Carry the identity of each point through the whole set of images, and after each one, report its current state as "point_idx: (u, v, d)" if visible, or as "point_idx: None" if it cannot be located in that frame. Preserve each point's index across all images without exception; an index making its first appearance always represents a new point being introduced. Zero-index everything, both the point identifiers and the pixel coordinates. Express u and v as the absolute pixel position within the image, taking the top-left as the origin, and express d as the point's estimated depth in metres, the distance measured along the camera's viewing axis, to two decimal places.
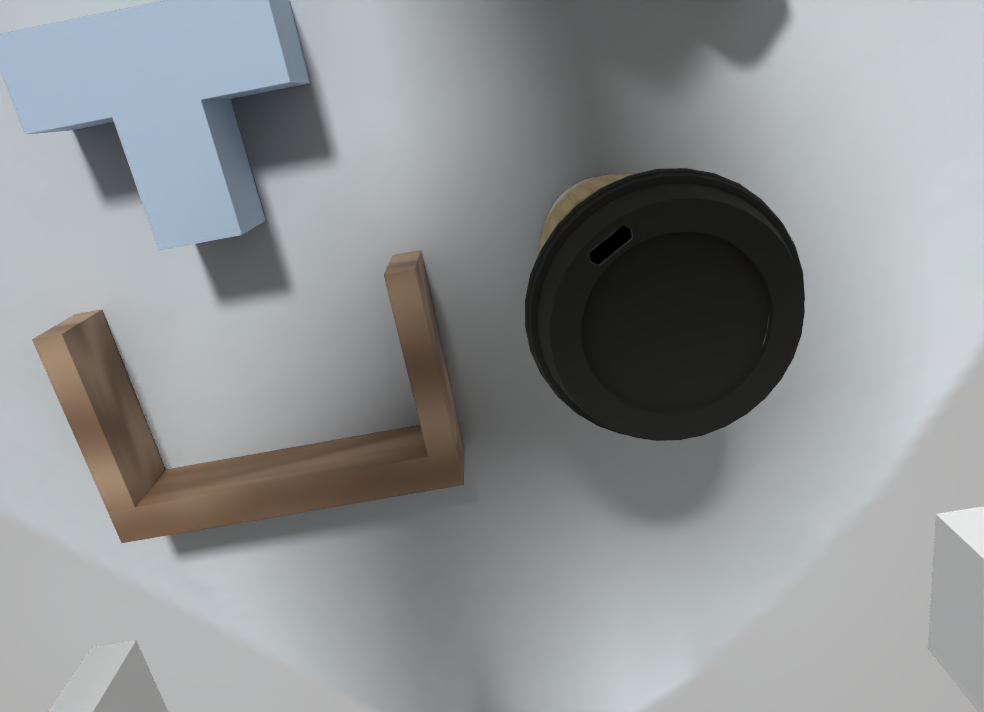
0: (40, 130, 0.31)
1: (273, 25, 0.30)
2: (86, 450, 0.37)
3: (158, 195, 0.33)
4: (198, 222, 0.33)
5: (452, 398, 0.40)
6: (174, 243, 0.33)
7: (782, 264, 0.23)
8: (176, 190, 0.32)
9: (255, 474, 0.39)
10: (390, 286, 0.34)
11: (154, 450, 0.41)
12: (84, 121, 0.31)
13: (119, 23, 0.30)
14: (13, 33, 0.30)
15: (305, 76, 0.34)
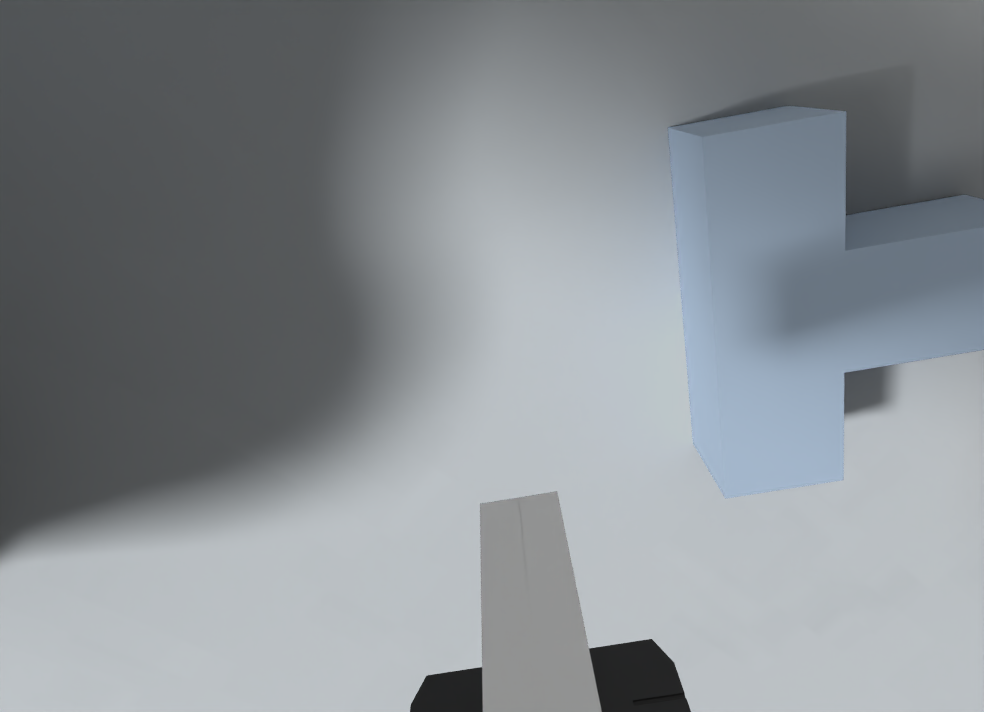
0: (842, 461, 0.24)
1: (764, 128, 0.20)
2: None
3: (960, 329, 0.22)
4: None
5: None
6: None
7: None
8: (960, 302, 0.22)
9: None
10: None
11: None
12: (842, 407, 0.23)
13: (732, 343, 0.22)
14: (726, 469, 0.24)
15: (787, 108, 0.23)
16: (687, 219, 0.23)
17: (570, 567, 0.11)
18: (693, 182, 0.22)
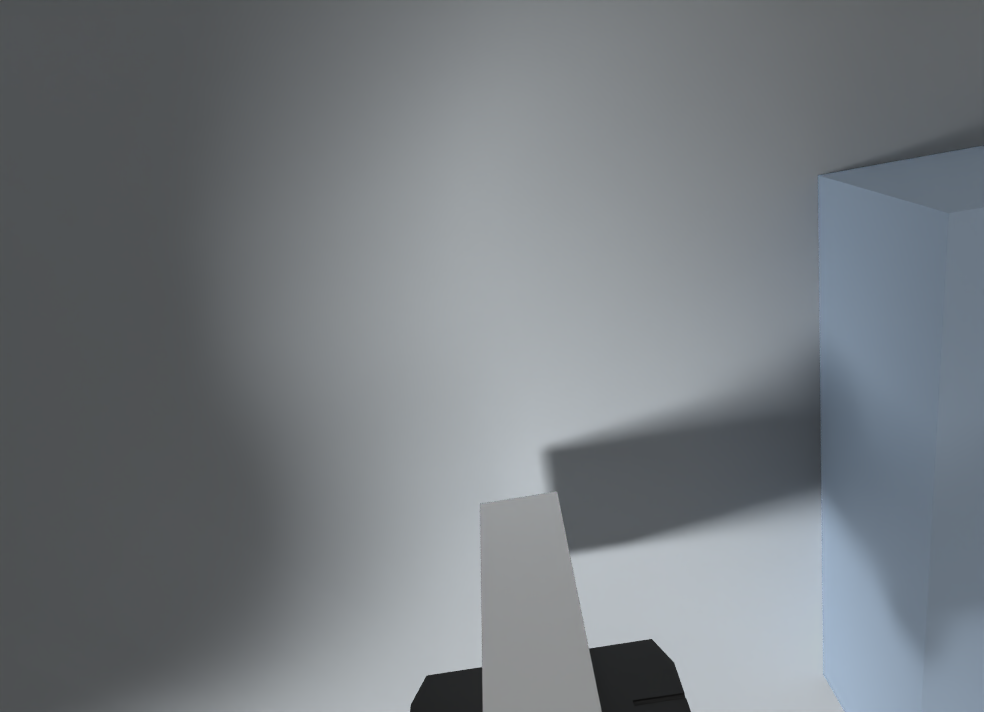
0: None
1: None
2: None
3: None
4: None
5: None
6: None
7: None
8: None
9: None
10: None
11: None
12: None
13: (960, 595, 0.12)
14: None
15: None
16: (861, 347, 0.13)
17: (570, 567, 0.11)
18: (894, 291, 0.11)
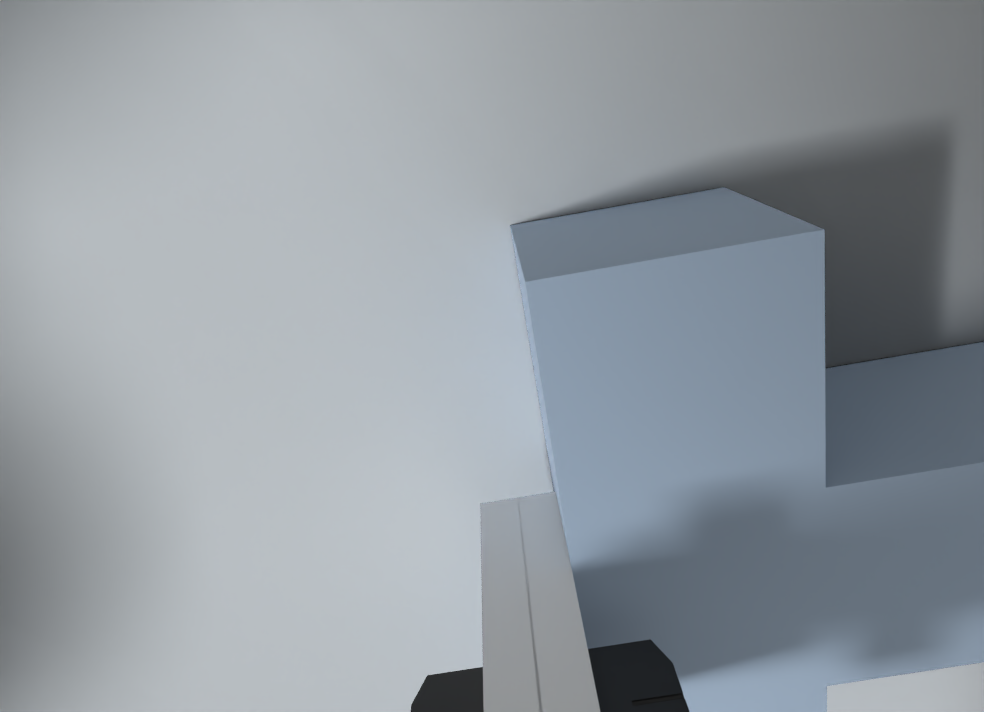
0: None
1: (653, 265, 0.10)
2: None
3: None
4: None
5: None
6: None
7: None
8: None
9: None
10: None
11: None
12: None
13: (615, 644, 0.12)
14: None
15: (720, 195, 0.13)
16: (540, 397, 0.13)
17: (569, 567, 0.11)
18: (533, 348, 0.11)
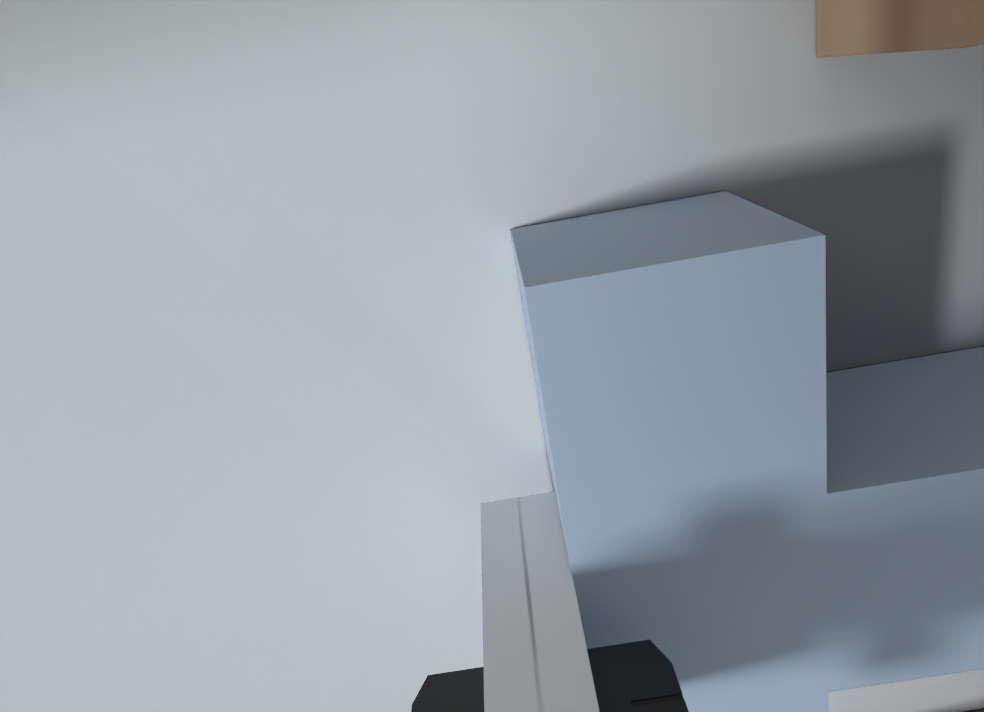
0: None
1: (653, 270, 0.10)
2: None
3: None
4: None
5: None
6: None
7: None
8: None
9: None
10: None
11: None
12: None
13: None
14: None
15: (720, 199, 0.13)
16: (540, 402, 0.13)
17: (568, 567, 0.11)
18: (533, 353, 0.11)
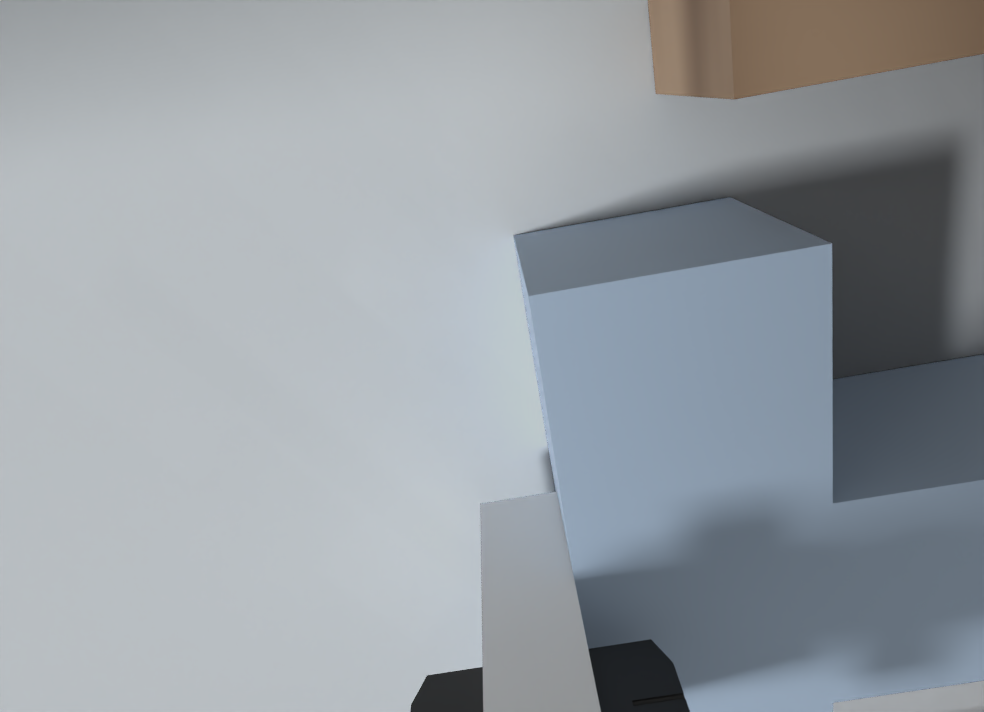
0: None
1: (657, 280, 0.09)
2: None
3: None
4: None
5: None
6: None
7: None
8: None
9: None
10: (785, 74, 0.09)
11: None
12: None
13: None
14: None
15: (725, 206, 0.12)
16: (543, 409, 0.13)
17: (569, 567, 0.11)
18: (536, 361, 0.11)
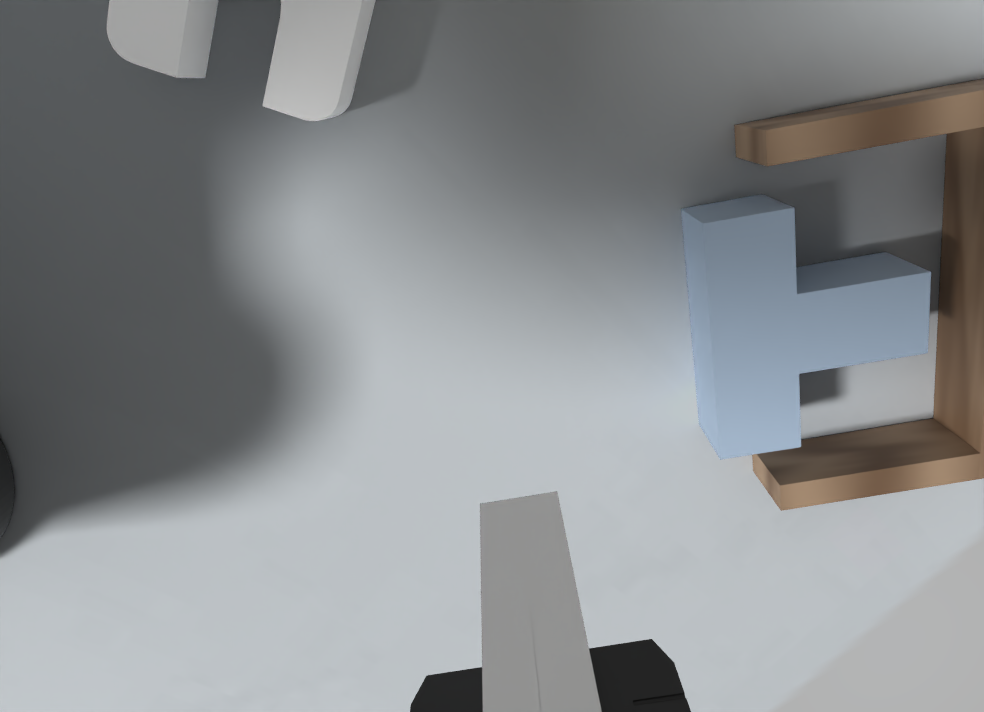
0: (799, 434, 0.35)
1: (742, 218, 0.32)
2: (904, 486, 0.36)
3: (875, 345, 0.34)
4: (909, 312, 0.33)
5: (921, 91, 0.33)
6: (924, 337, 0.34)
7: None
8: (874, 327, 0.33)
9: (970, 328, 0.35)
10: (781, 159, 0.31)
11: (909, 425, 0.39)
12: (798, 397, 0.35)
13: (723, 354, 0.34)
14: (720, 439, 0.35)
15: (761, 197, 0.34)
16: (694, 271, 0.35)
17: (570, 567, 0.11)
18: (697, 249, 0.33)
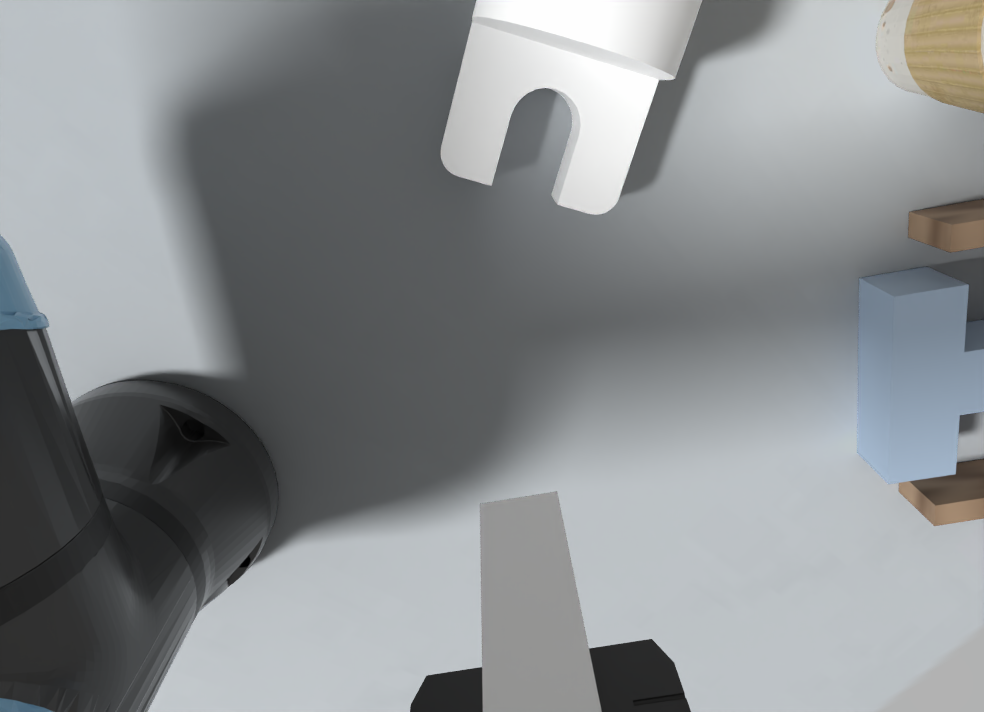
0: (955, 463, 0.43)
1: (926, 292, 0.39)
2: None
3: None
4: None
5: None
6: None
7: None
8: None
9: None
10: (962, 247, 0.38)
11: None
12: (957, 434, 0.42)
13: (899, 399, 0.41)
14: (890, 467, 0.43)
15: (928, 270, 0.42)
16: (872, 330, 0.42)
17: (570, 567, 0.11)
18: (881, 314, 0.41)
